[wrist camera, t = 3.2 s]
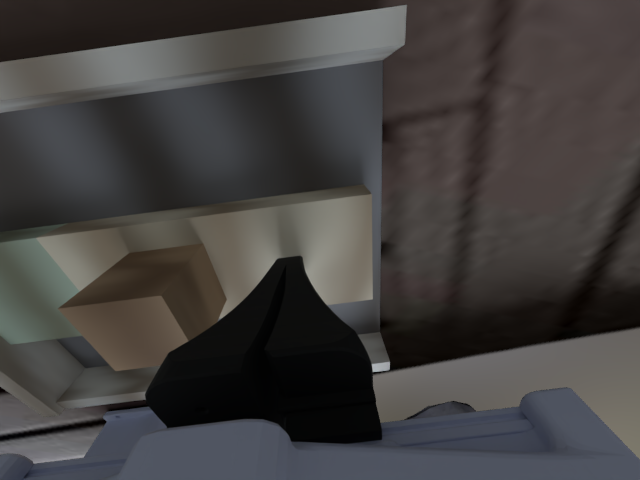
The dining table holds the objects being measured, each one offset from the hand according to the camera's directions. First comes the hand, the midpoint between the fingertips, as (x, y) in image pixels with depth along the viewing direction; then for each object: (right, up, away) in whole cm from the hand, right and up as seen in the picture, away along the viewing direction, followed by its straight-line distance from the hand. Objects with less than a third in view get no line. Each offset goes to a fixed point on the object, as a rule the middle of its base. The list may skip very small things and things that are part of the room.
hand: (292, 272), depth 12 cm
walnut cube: (-6, 0, +1) cm, 6 cm away
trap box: (-8, 0, +3) cm, 8 cm away
